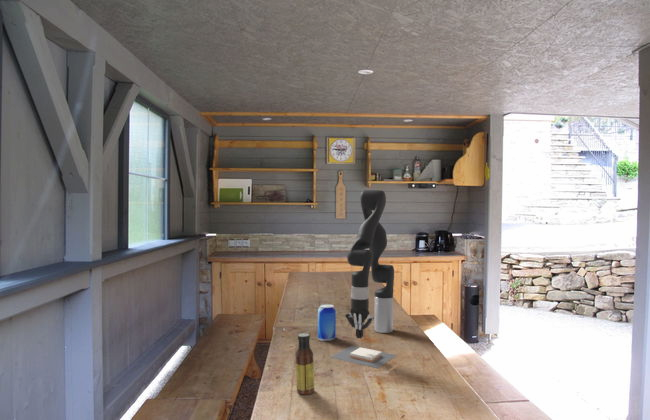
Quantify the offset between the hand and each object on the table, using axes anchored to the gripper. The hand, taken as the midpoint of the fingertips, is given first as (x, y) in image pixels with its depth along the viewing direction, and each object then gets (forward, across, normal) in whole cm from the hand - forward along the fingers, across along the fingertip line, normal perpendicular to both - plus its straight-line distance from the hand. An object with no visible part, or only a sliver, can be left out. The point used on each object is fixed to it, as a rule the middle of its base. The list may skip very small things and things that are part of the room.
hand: (359, 337), depth 194 cm
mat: (+8, -2, 0) cm, 8 cm away
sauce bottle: (+8, -1, +41) cm, 42 cm away
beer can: (+8, +24, -12) cm, 28 cm away
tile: (+6, +2, 0) cm, 7 cm away
